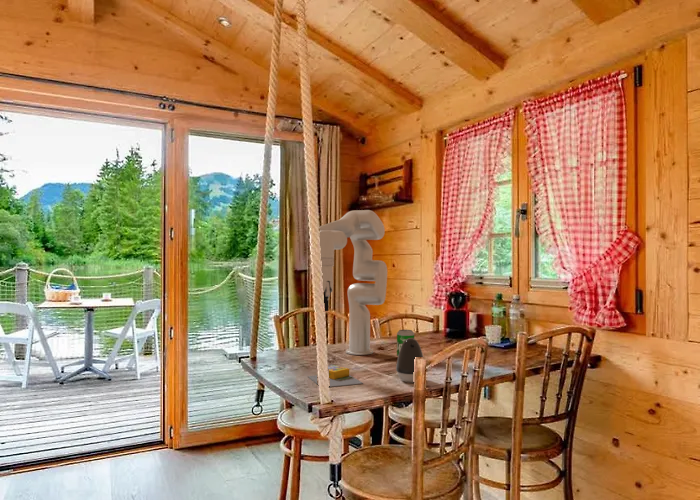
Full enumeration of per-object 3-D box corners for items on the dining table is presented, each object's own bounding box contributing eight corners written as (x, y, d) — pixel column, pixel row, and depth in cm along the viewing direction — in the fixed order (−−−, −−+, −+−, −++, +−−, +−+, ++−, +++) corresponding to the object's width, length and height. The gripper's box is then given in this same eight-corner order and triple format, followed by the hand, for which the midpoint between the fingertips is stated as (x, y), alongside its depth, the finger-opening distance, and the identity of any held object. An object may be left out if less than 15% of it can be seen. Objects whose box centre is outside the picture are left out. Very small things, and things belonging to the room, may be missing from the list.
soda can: (394, 357, 217) (394, 329, 217) (409, 356, 219) (410, 328, 219) (401, 360, 210) (401, 332, 210) (417, 359, 212) (417, 331, 212)
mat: (307, 376, 180) (307, 376, 180) (346, 373, 186) (346, 372, 186) (322, 388, 165) (322, 387, 165) (363, 383, 171) (363, 383, 171)
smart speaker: (398, 384, 170) (399, 340, 170) (394, 377, 180) (394, 335, 181) (428, 384, 171) (428, 340, 171) (421, 377, 181) (421, 335, 181)
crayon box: (332, 363, 187) (353, 369, 178) (332, 371, 187) (353, 377, 178) (317, 366, 182) (338, 372, 173) (317, 375, 182) (338, 381, 173)
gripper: (308, 262, 194) (308, 309, 194) (320, 263, 180) (320, 313, 180) (327, 262, 197) (326, 308, 197) (340, 263, 183) (339, 312, 183)
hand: (323, 310), depth 188 cm, fingers closed
